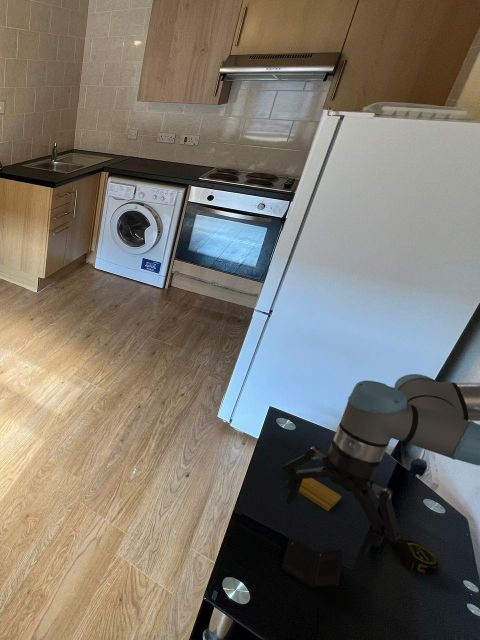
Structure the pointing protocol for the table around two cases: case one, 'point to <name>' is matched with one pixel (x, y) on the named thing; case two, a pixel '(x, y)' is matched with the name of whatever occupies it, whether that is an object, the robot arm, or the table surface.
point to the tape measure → (415, 556)
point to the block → (319, 493)
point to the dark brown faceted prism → (312, 565)
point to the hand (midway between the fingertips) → (324, 525)
